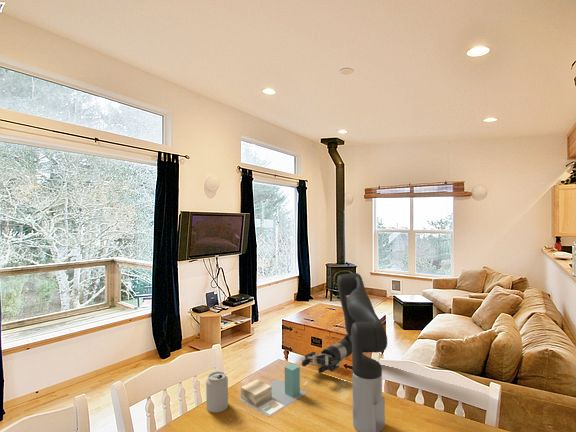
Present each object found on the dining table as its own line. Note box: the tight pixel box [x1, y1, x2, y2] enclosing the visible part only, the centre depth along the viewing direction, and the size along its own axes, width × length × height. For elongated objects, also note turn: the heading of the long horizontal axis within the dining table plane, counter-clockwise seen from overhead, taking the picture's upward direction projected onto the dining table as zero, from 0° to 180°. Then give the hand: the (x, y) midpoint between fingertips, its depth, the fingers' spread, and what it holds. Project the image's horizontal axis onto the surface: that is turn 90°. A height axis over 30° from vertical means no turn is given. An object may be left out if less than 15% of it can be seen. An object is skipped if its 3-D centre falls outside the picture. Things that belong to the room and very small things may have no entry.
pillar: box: [284, 363, 301, 397], centre depth 127 cm, size 4×4×10 cm
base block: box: [240, 379, 272, 406], centre depth 124 cm, size 8×8×4 cm
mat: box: [238, 378, 308, 418], centre depth 125 cm, size 16×20×1 cm
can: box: [205, 371, 229, 414], centre depth 119 cm, size 8×8×12 cm
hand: (310, 367), depth 135 cm, fingers open, 8 cm apart
